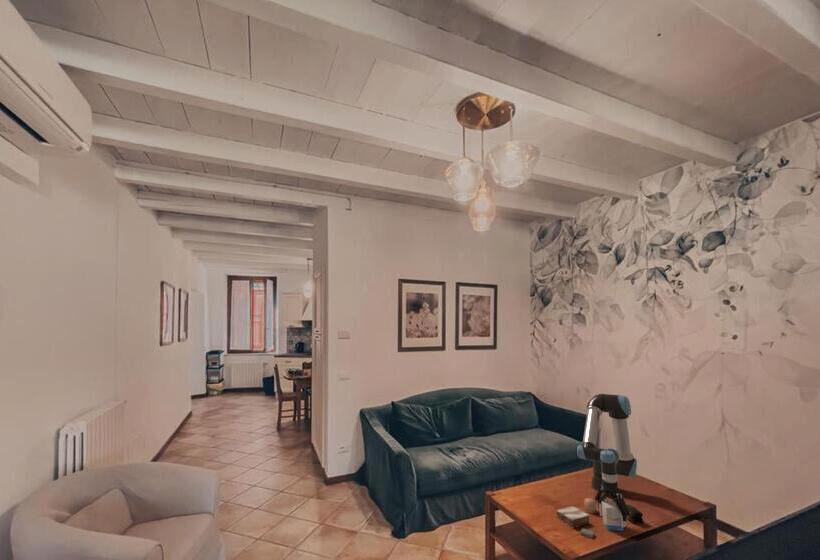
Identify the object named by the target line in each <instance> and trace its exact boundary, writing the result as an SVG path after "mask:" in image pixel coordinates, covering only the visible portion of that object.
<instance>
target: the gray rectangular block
mask: <svg viewBox="0 0 820 560" xmlns="http://www.w3.org/2000/svg"><path fill="white" fill-rule="evenodd" d="M579 532H580V534H579V535H581V534H582V535H581V536H583V535H585V536H584V537H586V536H587V538H589V537H590V539H594V537H595V531H592V530H589V529H587V528H581V530H580V531H579Z"/></svg>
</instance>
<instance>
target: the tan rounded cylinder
mask: <svg viewBox="0 0 820 560" xmlns="http://www.w3.org/2000/svg"><path fill="white" fill-rule="evenodd" d="M596 502H597V501H596V500H595V498H591V497H587V498H586V497H585V498H584V511H585V510H586V511H587V512H586V511H585V512H586V513H588V512H589V514H596V513H597V507H596V506H597V505H596Z"/></svg>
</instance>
